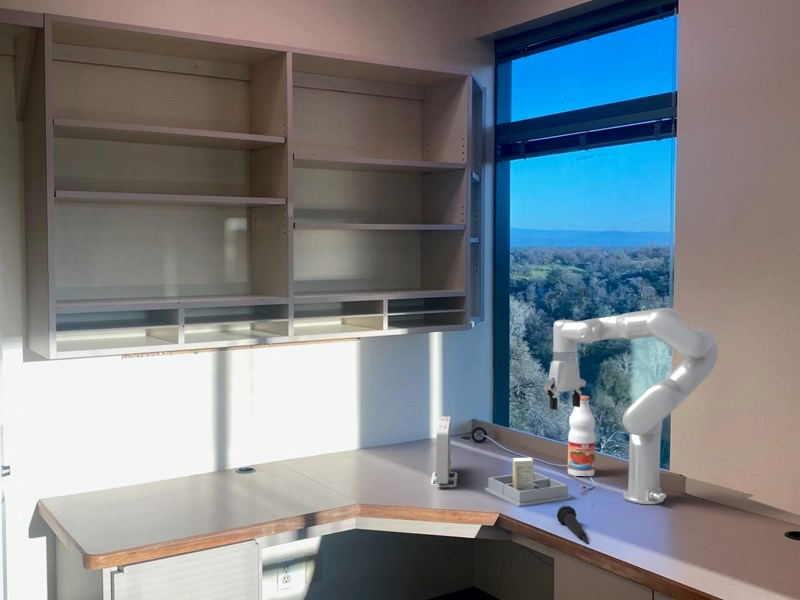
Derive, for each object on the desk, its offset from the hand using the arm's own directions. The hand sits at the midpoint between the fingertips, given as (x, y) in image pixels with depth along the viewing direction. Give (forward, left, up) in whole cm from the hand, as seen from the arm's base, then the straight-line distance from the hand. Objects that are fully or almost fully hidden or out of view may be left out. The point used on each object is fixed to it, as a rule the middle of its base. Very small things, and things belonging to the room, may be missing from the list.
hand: (565, 407), depth 280 cm
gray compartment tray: (-2, +16, -27) cm, 32 cm away
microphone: (-38, +26, -27) cm, 53 cm away
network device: (+25, +32, -27) cm, 49 cm away
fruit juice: (+11, -16, -27) cm, 33 cm away
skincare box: (-7, +21, -26) cm, 34 cm away
